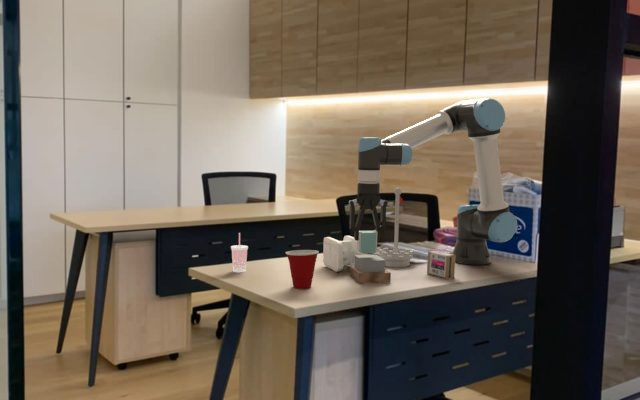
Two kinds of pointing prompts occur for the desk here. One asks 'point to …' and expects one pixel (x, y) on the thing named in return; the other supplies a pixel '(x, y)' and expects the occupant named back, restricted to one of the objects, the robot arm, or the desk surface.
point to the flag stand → (396, 242)
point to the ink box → (441, 264)
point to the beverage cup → (239, 257)
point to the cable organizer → (339, 252)
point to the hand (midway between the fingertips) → (366, 249)
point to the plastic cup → (302, 267)
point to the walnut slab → (370, 276)
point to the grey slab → (369, 263)
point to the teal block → (368, 242)
